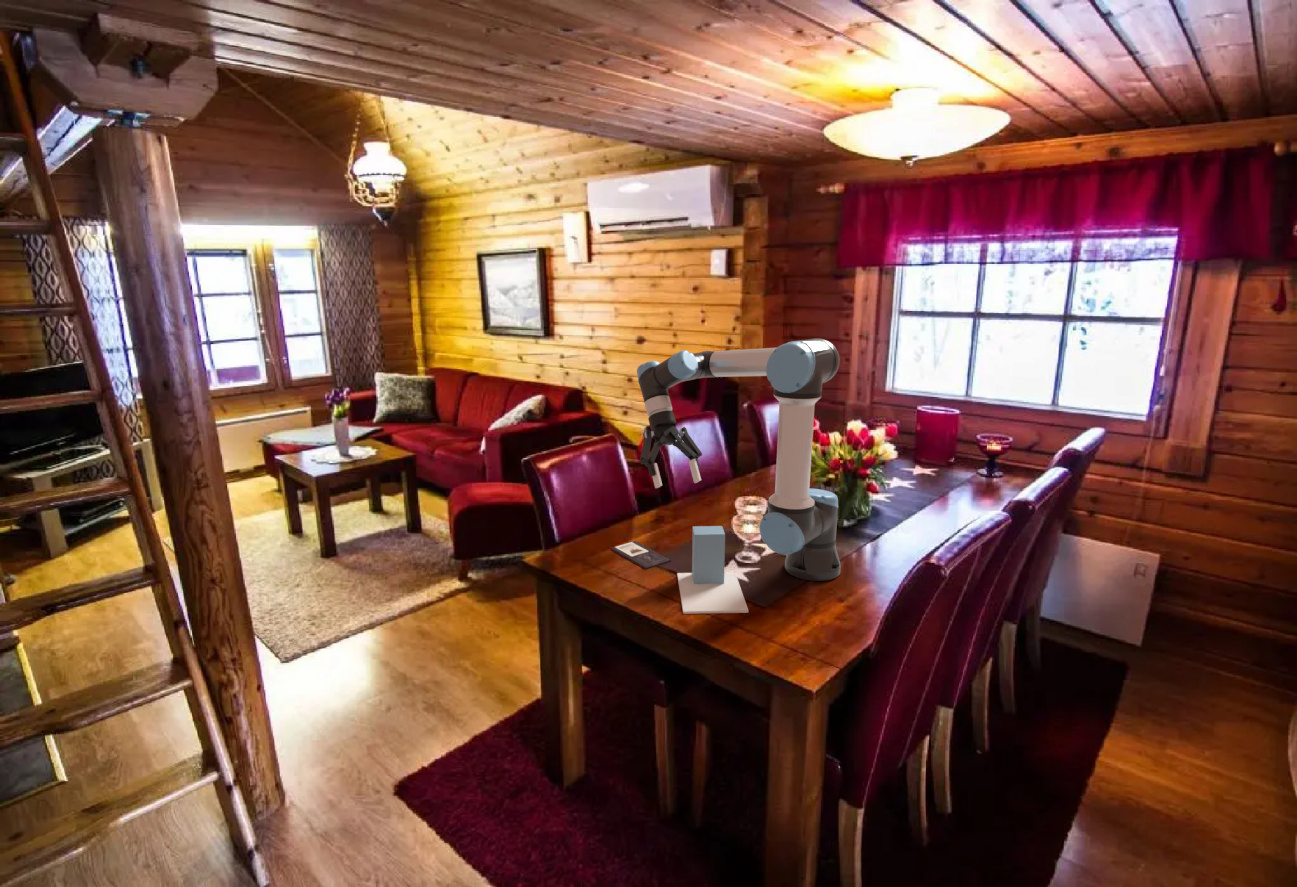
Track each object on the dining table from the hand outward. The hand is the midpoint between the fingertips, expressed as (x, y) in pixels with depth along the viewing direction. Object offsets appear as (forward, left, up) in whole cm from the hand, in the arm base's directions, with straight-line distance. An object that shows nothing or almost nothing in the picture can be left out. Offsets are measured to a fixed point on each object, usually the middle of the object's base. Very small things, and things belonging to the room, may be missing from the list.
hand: (678, 484), depth 191 cm
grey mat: (-7, +21, -23) cm, 32 cm away
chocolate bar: (+11, -4, -24) cm, 26 cm away
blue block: (-7, +14, -22) cm, 27 cm away
